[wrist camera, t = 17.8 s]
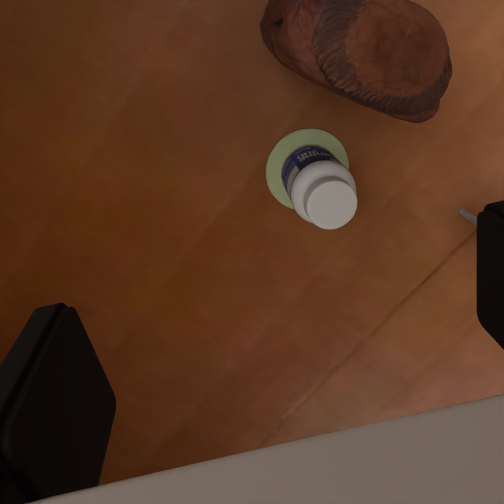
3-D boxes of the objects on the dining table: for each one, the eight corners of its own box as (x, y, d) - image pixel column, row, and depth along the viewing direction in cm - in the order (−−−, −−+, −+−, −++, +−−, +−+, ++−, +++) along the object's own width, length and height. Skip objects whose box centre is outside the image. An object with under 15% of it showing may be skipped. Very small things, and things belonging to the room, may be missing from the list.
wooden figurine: (398, 31, 40) (525, 35, 24) (363, 103, 43) (458, 149, 27) (273, -32, 38) (323, -75, 21) (243, 48, 40) (268, 64, 24)
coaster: (257, 139, 43) (258, 139, 43) (342, 119, 43) (343, 119, 43) (274, 217, 47) (274, 218, 47) (352, 199, 47) (353, 200, 46)
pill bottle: (342, 147, 44) (375, 177, 35) (327, 201, 46) (355, 242, 38) (286, 137, 43) (306, 165, 34) (274, 193, 45) (290, 232, 37)
